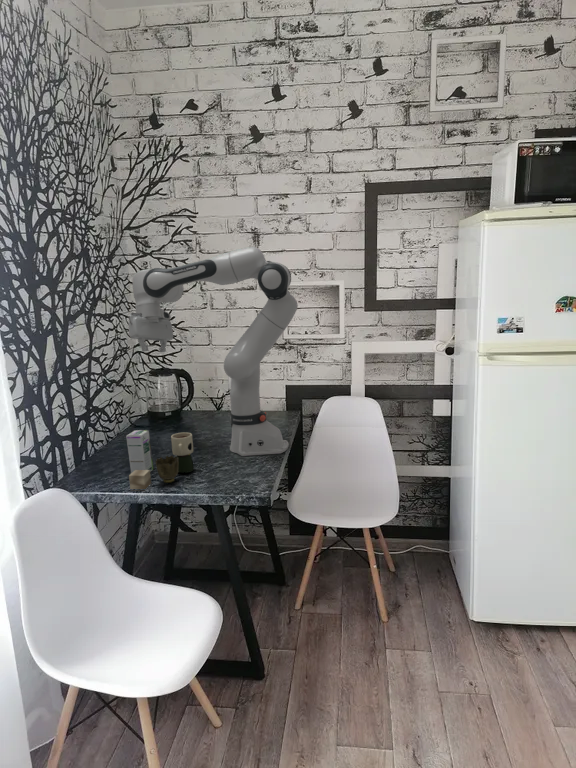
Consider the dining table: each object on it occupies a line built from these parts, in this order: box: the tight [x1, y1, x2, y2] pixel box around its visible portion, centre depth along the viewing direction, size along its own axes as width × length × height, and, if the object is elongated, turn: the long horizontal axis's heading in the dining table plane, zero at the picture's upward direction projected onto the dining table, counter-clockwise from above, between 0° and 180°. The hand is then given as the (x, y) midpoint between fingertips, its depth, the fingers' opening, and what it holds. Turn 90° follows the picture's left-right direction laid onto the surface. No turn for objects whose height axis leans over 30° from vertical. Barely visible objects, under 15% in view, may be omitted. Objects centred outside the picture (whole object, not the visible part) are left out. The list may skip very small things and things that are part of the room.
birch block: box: [128, 470, 152, 490], centre depth 178 cm, size 5×5×5 cm
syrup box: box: [126, 429, 154, 474], centre depth 191 cm, size 6×6×14 cm
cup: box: [154, 454, 179, 484], centre depth 181 cm, size 8×7×8 cm
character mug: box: [170, 431, 195, 474], centre depth 190 cm, size 11×7×13 cm, turn 3°
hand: (154, 351), depth 203 cm, fingers open, 8 cm apart
